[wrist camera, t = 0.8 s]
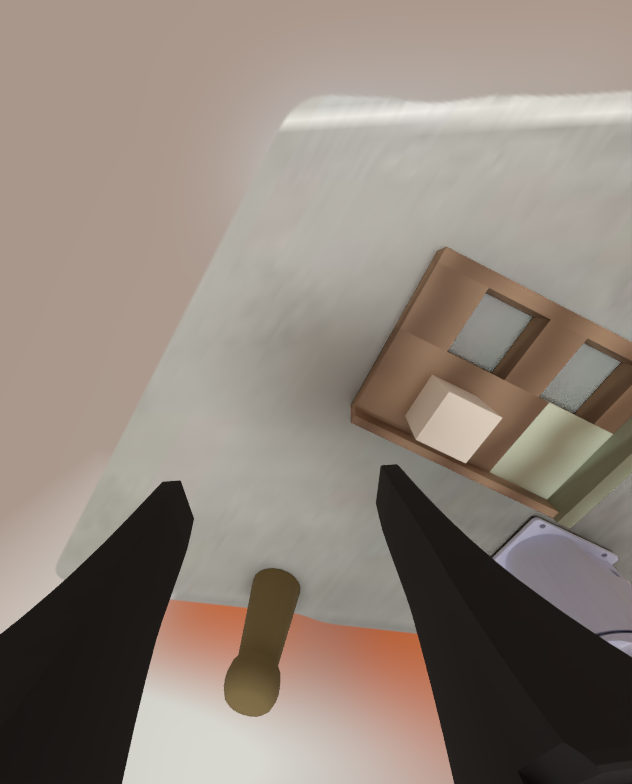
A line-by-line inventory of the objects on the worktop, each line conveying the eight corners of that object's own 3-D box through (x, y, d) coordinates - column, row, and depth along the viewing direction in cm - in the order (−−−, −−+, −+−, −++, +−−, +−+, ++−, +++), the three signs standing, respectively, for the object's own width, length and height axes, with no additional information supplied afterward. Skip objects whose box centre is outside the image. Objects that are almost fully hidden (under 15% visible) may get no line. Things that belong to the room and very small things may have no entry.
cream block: (476, 396, 22) (502, 417, 18) (447, 435, 23) (465, 463, 20) (431, 374, 22) (449, 391, 18) (404, 415, 23) (415, 439, 20)
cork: (257, 562, 34) (217, 680, 24) (305, 576, 34) (285, 701, 24) (249, 594, 36) (210, 715, 26) (294, 607, 36) (272, 734, 26)
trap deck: (664, 367, 22) (730, 383, 18) (538, 495, 27) (569, 528, 23) (437, 250, 21) (457, 242, 17) (350, 405, 26) (351, 425, 22)
